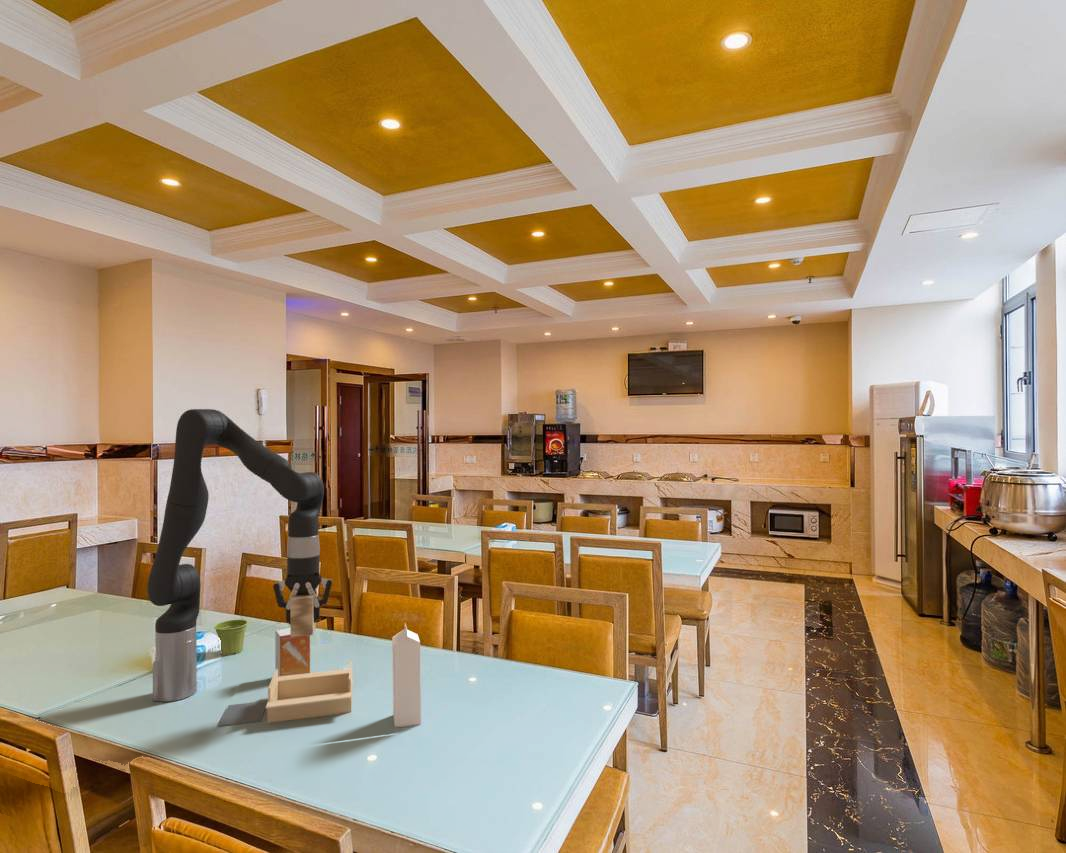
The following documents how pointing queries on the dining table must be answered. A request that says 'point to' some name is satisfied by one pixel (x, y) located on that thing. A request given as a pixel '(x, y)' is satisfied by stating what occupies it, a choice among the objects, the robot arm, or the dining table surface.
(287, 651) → the small box
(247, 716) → the slate mat
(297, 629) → the block
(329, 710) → the carton
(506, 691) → the dining table surface
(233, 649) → the plant pot
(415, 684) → the milk
